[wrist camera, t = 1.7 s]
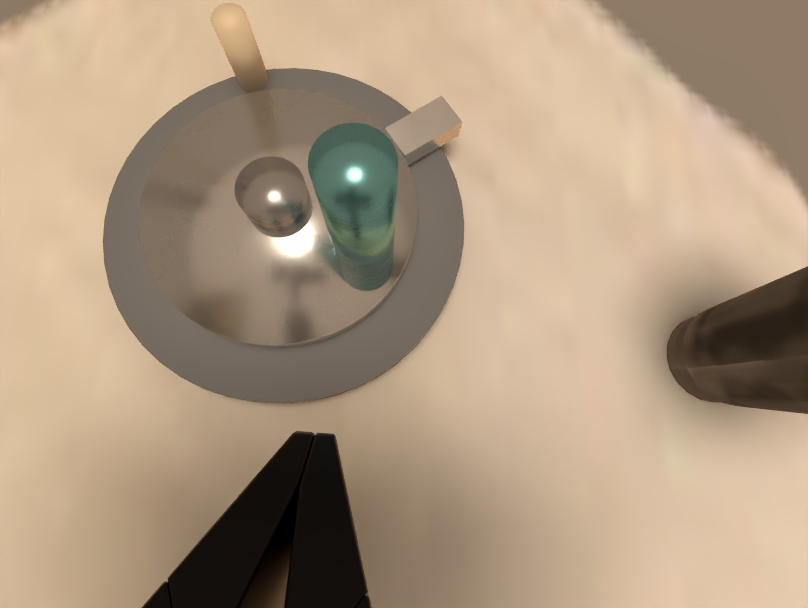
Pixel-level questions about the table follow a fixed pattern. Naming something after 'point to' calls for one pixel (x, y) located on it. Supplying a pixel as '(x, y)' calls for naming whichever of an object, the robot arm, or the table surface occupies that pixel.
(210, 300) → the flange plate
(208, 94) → the turntable base
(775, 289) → the beverage cup
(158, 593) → the robot arm
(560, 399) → the table surface
